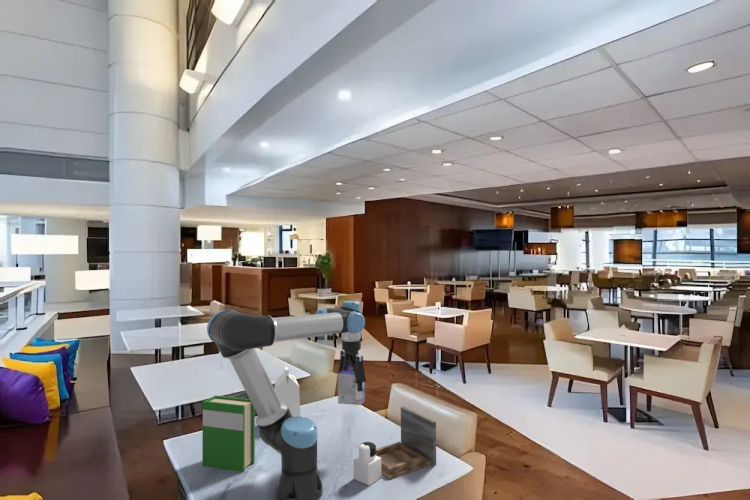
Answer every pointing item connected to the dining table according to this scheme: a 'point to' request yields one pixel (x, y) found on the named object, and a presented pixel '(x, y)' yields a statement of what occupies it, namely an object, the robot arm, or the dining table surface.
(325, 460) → the dining table surface
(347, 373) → the ink cartridge box
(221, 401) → the hardback book
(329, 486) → the dining table surface
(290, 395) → the milk
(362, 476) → the medicine bottle
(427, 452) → the wall dock
